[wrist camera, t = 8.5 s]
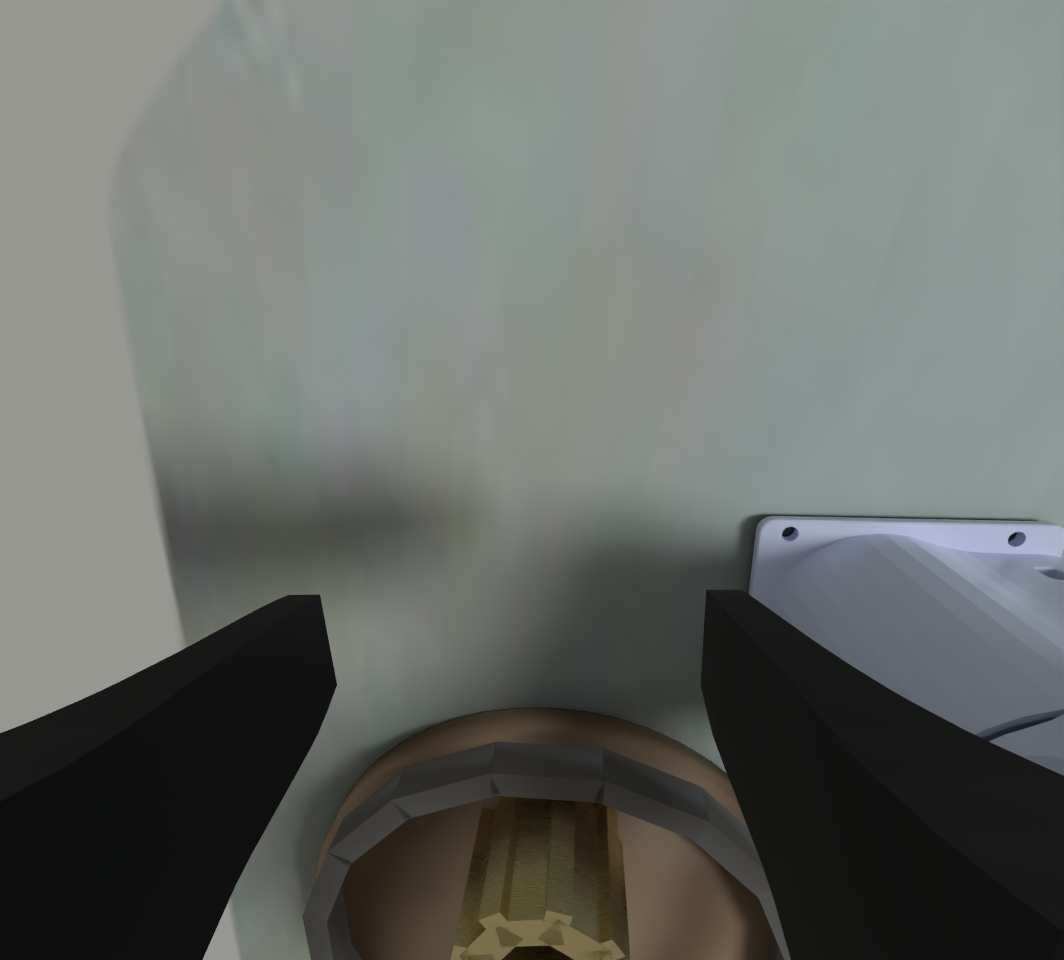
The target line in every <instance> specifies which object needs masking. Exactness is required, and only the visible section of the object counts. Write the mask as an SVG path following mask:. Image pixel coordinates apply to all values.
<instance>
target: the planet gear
mask: <svg viewBox="0 0 1064 960" xmlns="http://www.w3.org/2000/svg"><path fill="white" fill-rule="evenodd" d="M451 960H630V947H629V932H628V917H627V903H626V888H625V873H624V858H623V844H622V840H619V838H618V821H617V812H616V811H615V809H613V808H610V807H608V806H605V805H603V804H600V803H596V802H581V801H566V800H552V799H537V798H522V797H507V796H500V798H499V803H498V804H497V805H496V806H495V807H494V808H493V810H492V809H488V808H483V807H482V810H481V815H480V819H479V823H478V828H477V833H476V838H475V843H474V848H473V853H472V857H471V862H470V867H469V872H468V877H467V882H466V887H465V891H464V896H463V901H462V906H461V911H460V916H459V921H458V926H457V930H456V935H455V940H454V945H453V950H452V955H451Z"/></svg>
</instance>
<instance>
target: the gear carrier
mask: <svg viewBox="0 0 1064 960" xmlns="http://www.w3.org/2000/svg"><path fill="white" fill-rule="evenodd" d="M500 796H507V797H522V798H537V799H552V800H566V801H581V802H596V803H600V804H603V805H605V806H608V807H610V808H613V809H615V811H616V812H617V821H618V838H619V840H622V844H623V858H624V873H625V888H626V903H627V917H628V932H629V947H630V960H791V958H790V955H789V951H788V948H787V944H786V941H785V937H784V934H783V930H782V927H781V923H780V920H779V916H778V913H777V909H776V905H775V902H774V899H773V896H772V893H771V890H770V887H769V884H768V881H767V878H766V875H765V872H764V869H763V866H762V863H761V861H760V858H759V856H758V853H757V850H756V848H755V845H754V843H753V840H752V837H751V835H750V832H749V830H748V827H747V824H746V822H745V819H744V816H743V814H742V811H741V809H740V806H739V803H738V801H737V798H736V796H735V793H734V790H733V788H732V785H731V783H730V780H729V777H728V775H727V774H726V773H725V772H724V771H722V770H721V769H720V768H719V767H717V766H716V765H715V764H714V763H712V762H711V761H710V760H708V759H706V758H705V757H703V756H701V755H700V754H698V753H697V752H695V751H693V750H692V749H690V748H688V747H687V746H685V745H684V744H681V743H679V742H677V741H675V740H673V739H671V738H669V737H666V736H664V735H662V734H660V733H658V732H656V731H653V730H651V729H648V728H645V727H642V726H639V725H636V724H633V723H630V722H627V721H624V720H621V719H617V718H612V717H607V716H603V715H598V714H594V713H589V712H583V711H574V710H564V709H555V708H515V709H506V710H497V711H488V712H482V713H478V714H474V715H469V716H465V717H461V718H456V719H453V720H450V721H447V722H445V723H442V724H439V725H436V726H434V727H431V728H428V729H426V730H424V731H422V732H420V733H418V734H416V735H414V736H412V737H410V738H408V739H407V740H405V741H403V742H401V743H399V744H398V745H397V746H395V747H394V748H392V749H391V750H390V751H388V752H387V753H386V754H384V755H383V756H381V757H380V758H379V759H378V760H377V761H376V762H375V763H374V764H373V765H372V766H371V767H370V768H369V769H368V770H367V771H366V772H365V773H364V774H363V775H362V776H361V777H360V778H359V779H358V781H357V782H356V784H355V785H354V786H353V788H352V789H351V791H350V792H349V793H348V795H347V796H346V799H345V801H344V803H343V805H342V807H341V809H340V811H339V813H338V815H337V817H336V819H335V821H334V823H333V825H332V827H331V830H330V832H329V834H328V836H327V838H326V840H325V842H324V844H323V846H322V849H321V853H320V857H319V860H318V864H317V868H316V878H315V886H314V888H313V891H312V894H311V896H310V899H309V901H308V904H307V907H306V909H305V912H304V915H303V920H304V925H305V931H306V936H307V941H308V946H309V951H310V956H311V960H451V955H452V950H453V945H454V940H455V935H456V930H457V926H458V921H459V916H460V911H461V906H462V901H463V896H464V891H465V887H466V882H467V877H468V872H469V867H470V862H471V857H472V853H473V848H474V843H475V838H476V833H477V828H478V823H479V819H480V815H481V810H482V807H483V808H488V809H492V810H493V808H494V807H495V806H496V805H497V804H498V803H499V798H500Z"/></svg>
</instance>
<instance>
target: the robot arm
mask: <svg viewBox="0 0 1064 960" xmlns="http://www.w3.org/2000/svg"><path fill="white" fill-rule="evenodd" d="M787 527H794V532H793V534H791V535H790V536H787V537H784V536H782V532H783V530H784V529H786V528H787ZM1014 532H1017V535H1016V537H1015V538H1014V539H1013V540H1011V541H1008V538H1009V536H1010V535H1011V534H1013V533H1014ZM1063 549H1064V529H1063V528H1062V527H1060V526H1058V525H1056V524H1054V523H1051V522H1046V521H1000V520H950V519H900V518H851V517H801V516H769V517H766V518H764V519H762V520H761V521H760V522H759V523H758V525H757V528H756V535H755V543H754V552H753V560H752V569H751V577H750V586H749V594H747V593H746V592H744V591H742V590H706V606H705V622H704V639H703V656H702V673H701V688H702V692H703V696H704V701H705V705H706V709H707V713H708V717H709V721H710V725H711V729H712V733H713V737H714V740H715V742H716V745H717V748H718V751H719V753H720V756H721V759H722V761H723V764H724V767H725V769H726V772H727V775H728V777H729V780H730V783H731V785H732V788H733V790H734V793H735V796H736V798H737V801H738V803H739V806H740V809H741V811H742V814H743V816H744V819H745V822H746V824H747V827H748V830H749V832H750V835H751V837H752V840H753V843H754V845H755V848H756V850H757V853H758V856H759V858H760V861H761V863H762V866H763V869H764V872H765V875H766V878H767V881H768V884H769V887H770V890H771V893H772V896H773V899H774V902H775V905H776V909H777V913H778V916H779V920H780V923H781V927H782V930H783V934H784V937H785V941H786V944H787V948H788V951H789V955H790V958H791V960H1064V559H1063V558H1062V557H1061V556H1062V552H1063ZM336 686H337V683H336V677H335V672H334V667H333V662H332V656H331V651H330V646H329V640H328V635H327V630H326V625H325V619H324V614H323V609H322V604H321V598H320V595H288V596H285V597H283V598H280V599H278V600H276V601H274V602H272V603H269V604H267V605H265V606H263V607H261V608H259V609H258V610H256V611H254V612H252V613H250V614H248V615H246V616H244V617H242V618H240V619H239V620H237V621H235V622H233V623H231V624H229V625H228V626H226V627H224V628H222V629H220V630H218V631H217V632H215V633H213V634H211V635H209V636H207V637H205V638H204V639H202V640H200V641H198V642H196V643H194V644H193V645H191V646H189V647H187V648H185V649H183V650H181V651H179V652H178V653H176V654H174V655H172V656H170V657H168V658H166V659H164V660H162V661H160V662H158V663H156V664H154V665H152V666H150V667H148V668H146V669H144V670H142V671H140V672H138V673H136V674H134V675H132V676H130V677H128V678H126V679H124V680H122V681H120V682H119V683H116V684H114V685H112V686H110V687H108V688H106V689H104V690H102V691H100V692H97V693H95V694H93V695H91V696H89V697H86V698H84V699H82V700H80V701H78V702H75V703H73V704H71V705H68V706H66V707H64V708H62V709H59V710H57V711H54V712H52V713H50V714H47V715H45V716H43V717H40V718H38V719H36V720H33V721H31V722H28V723H26V724H23V725H21V726H19V727H16V728H13V729H10V730H8V731H5V732H3V733H0V960H203V957H204V955H205V952H206V950H207V948H208V945H209V944H210V941H211V939H212V937H213V935H214V932H215V930H216V928H217V926H218V923H219V921H220V919H221V916H222V914H223V912H224V910H225V908H226V905H227V903H228V901H229V899H230V896H231V894H232V892H233V890H234V888H235V885H236V883H237V881H238V879H239V877H240V875H241V874H242V872H243V870H244V868H245V866H246V864H247V862H248V860H249V858H250V856H251V854H252V852H253V850H254V849H255V847H256V845H257V843H258V841H259V840H260V838H261V836H262V834H263V833H264V831H265V829H266V827H267V825H268V824H269V822H270V820H271V818H272V816H273V815H274V813H275V811H276V809H277V807H278V806H279V804H280V802H281V800H282V799H283V797H284V795H285V793H286V791H287V790H288V788H289V786H290V784H291V782H292V781H293V779H294V777H295V775H296V773H297V772H298V770H299V768H300V766H301V764H302V762H303V761H304V759H305V757H306V755H307V753H308V751H309V750H310V748H311V746H312V744H313V742H314V740H315V738H316V736H317V735H318V732H319V730H320V727H321V725H322V722H323V720H324V718H325V715H326V713H327V710H328V707H329V705H330V702H331V699H332V697H333V694H334V691H335V689H336Z"/></svg>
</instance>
